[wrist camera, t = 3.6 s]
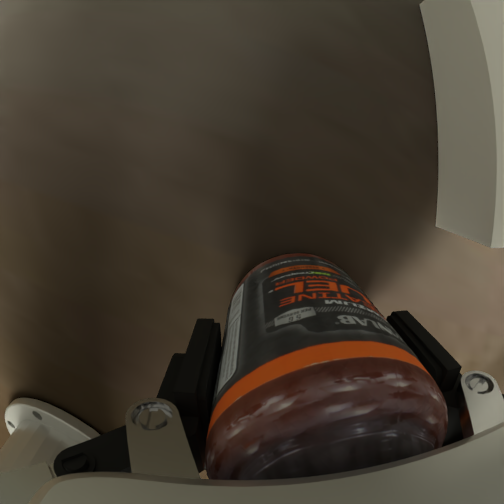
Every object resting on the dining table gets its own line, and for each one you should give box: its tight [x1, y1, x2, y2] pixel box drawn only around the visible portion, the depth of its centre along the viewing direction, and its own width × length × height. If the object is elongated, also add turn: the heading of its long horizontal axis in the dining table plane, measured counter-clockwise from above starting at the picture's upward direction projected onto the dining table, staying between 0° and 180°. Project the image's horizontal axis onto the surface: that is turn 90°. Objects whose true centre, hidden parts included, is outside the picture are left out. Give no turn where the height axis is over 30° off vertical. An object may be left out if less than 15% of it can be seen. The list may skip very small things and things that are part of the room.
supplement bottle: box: [205, 253, 448, 480], centre depth 8 cm, size 6×6×11 cm
